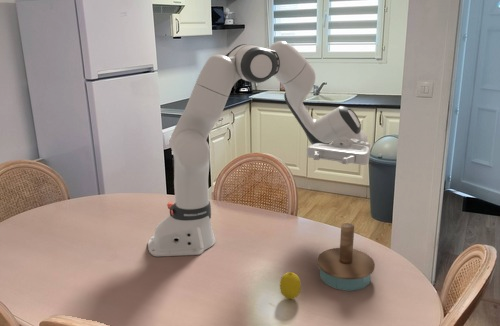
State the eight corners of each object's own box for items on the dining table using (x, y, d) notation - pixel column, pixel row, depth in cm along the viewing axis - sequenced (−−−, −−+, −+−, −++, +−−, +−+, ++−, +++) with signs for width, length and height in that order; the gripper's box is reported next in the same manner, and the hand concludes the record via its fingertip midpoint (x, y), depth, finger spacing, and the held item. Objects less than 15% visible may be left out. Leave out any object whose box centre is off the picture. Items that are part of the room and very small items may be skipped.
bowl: (333, 293, 119) (333, 280, 118) (313, 268, 132) (313, 256, 131) (379, 285, 122) (380, 273, 121) (355, 261, 135) (356, 249, 134)
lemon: (299, 306, 114) (300, 279, 112) (278, 303, 115) (278, 276, 113) (301, 294, 119) (302, 267, 117) (281, 291, 120) (281, 266, 118)
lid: (331, 283, 117) (333, 242, 113) (308, 254, 132) (310, 218, 128) (385, 274, 121) (388, 234, 117) (357, 247, 135) (359, 211, 132)
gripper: (315, 137, 152) (299, 146, 140) (374, 143, 142) (362, 153, 130) (314, 154, 153) (298, 164, 142) (373, 162, 144) (361, 174, 132)
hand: (329, 159), depth 136 cm, fingers open, 8 cm apart
